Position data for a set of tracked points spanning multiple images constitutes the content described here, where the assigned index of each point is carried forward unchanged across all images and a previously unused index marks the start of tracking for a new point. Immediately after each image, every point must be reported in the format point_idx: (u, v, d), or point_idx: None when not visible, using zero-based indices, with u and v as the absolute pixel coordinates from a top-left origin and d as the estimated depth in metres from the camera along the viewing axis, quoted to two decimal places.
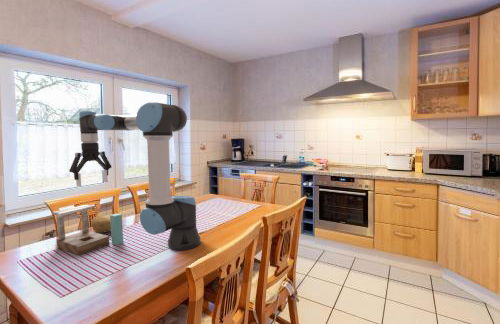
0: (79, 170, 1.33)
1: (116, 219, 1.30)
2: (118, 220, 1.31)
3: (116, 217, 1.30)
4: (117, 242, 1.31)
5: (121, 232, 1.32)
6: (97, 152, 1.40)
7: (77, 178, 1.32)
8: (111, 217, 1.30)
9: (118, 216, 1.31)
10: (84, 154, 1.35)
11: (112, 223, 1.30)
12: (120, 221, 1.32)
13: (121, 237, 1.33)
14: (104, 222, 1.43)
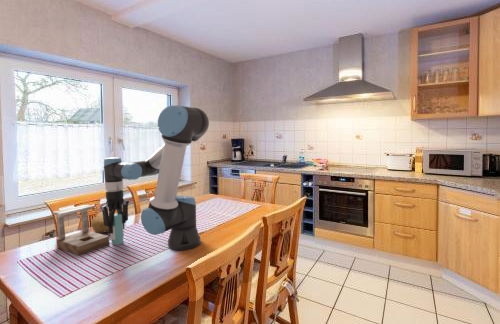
0: (113, 222, 1.29)
1: (116, 219, 1.30)
2: (118, 220, 1.31)
3: (116, 217, 1.30)
4: (117, 242, 1.31)
5: (121, 232, 1.32)
6: (122, 199, 1.33)
7: (112, 231, 1.29)
8: None
9: (118, 216, 1.31)
10: (109, 204, 1.27)
11: None
12: (120, 221, 1.32)
13: (121, 237, 1.33)
14: None
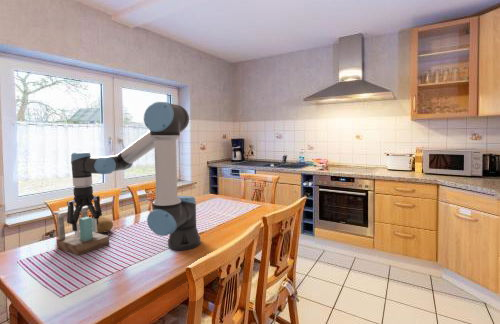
0: (77, 220, 1.23)
1: (85, 222, 1.25)
2: (87, 224, 1.26)
3: (85, 220, 1.25)
4: None
5: (91, 236, 1.28)
6: (91, 196, 1.28)
7: (75, 229, 1.23)
8: (80, 220, 1.26)
9: (87, 219, 1.26)
10: (77, 200, 1.22)
11: (81, 227, 1.26)
12: (90, 225, 1.27)
13: None
14: (104, 222, 1.43)
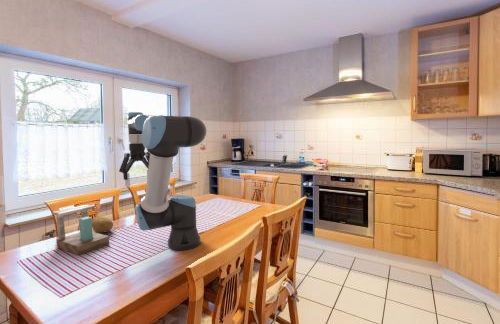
0: (128, 170, 1.35)
1: (85, 222, 1.25)
2: (87, 224, 1.26)
3: (85, 220, 1.25)
4: None
5: (91, 236, 1.28)
6: (143, 152, 1.43)
7: (126, 178, 1.35)
8: (80, 220, 1.26)
9: (87, 219, 1.26)
10: (132, 154, 1.37)
11: (81, 227, 1.26)
12: (90, 225, 1.27)
13: None
14: (104, 222, 1.43)
